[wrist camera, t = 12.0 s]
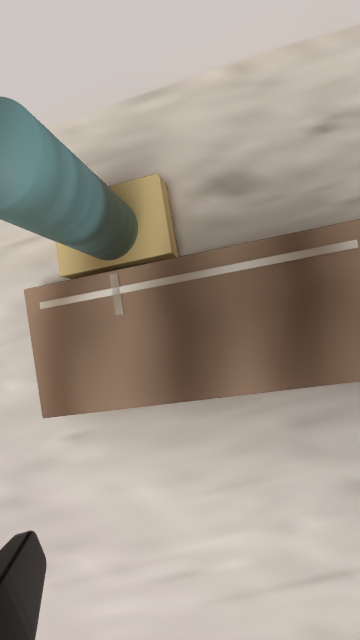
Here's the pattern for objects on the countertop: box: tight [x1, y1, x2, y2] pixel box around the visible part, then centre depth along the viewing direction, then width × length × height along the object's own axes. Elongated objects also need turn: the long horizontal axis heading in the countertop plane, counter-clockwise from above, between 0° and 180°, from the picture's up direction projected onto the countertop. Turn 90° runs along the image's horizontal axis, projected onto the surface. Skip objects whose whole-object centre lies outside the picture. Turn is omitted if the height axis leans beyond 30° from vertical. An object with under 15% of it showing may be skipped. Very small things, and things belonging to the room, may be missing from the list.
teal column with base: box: [0, 97, 179, 279], centre depth 16 cm, size 7×5×11 cm, turn 100°
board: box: [24, 219, 360, 418], centre depth 19 cm, size 20×8×2 cm, turn 100°
